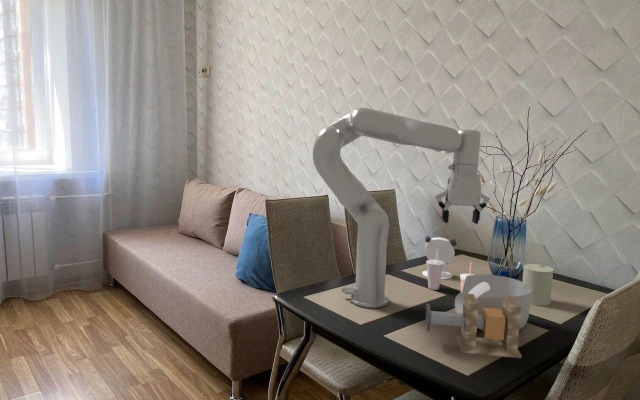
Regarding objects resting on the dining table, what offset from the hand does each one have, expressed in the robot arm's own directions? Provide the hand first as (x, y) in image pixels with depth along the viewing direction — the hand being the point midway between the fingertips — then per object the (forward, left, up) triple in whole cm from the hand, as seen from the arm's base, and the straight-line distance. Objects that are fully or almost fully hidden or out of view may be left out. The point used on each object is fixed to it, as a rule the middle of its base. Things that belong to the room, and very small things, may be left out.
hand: (460, 222), depth 142 cm
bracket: (+4, -31, -27) cm, 41 cm away
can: (+27, +8, -27) cm, 39 cm away
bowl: (+9, -14, -27) cm, 32 cm away
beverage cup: (+4, +1, -27) cm, 27 cm away
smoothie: (-6, +13, -27) cm, 31 cm away
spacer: (+5, -31, -23) cm, 39 cm away
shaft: (0, -31, -22) cm, 38 cm away
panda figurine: (-3, +29, -27) cm, 40 cm away
